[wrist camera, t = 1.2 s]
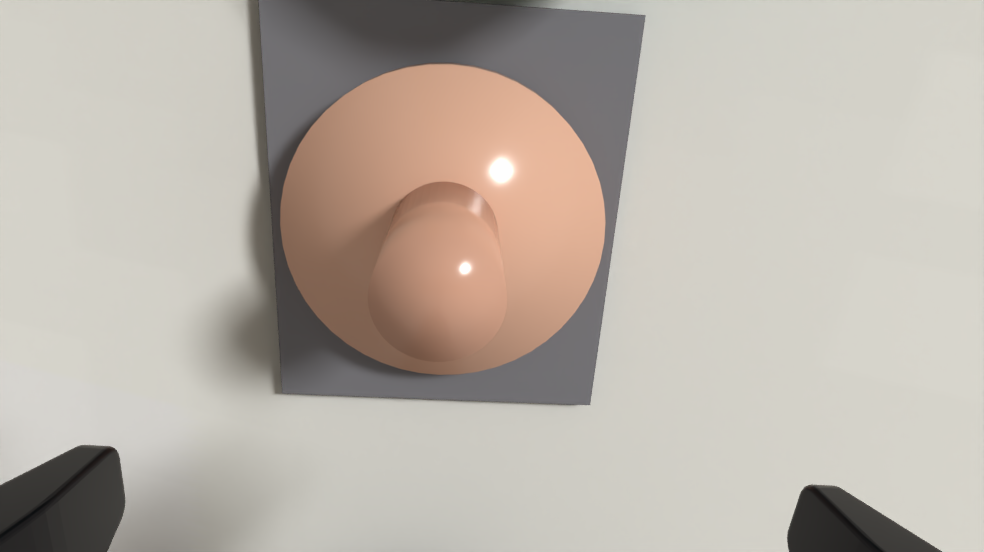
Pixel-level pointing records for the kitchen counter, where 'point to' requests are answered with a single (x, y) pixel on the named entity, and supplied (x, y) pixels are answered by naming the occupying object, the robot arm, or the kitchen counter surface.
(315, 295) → the lid
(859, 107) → the kitchen counter surface
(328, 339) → the mat
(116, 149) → the kitchen counter surface
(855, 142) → the kitchen counter surface
